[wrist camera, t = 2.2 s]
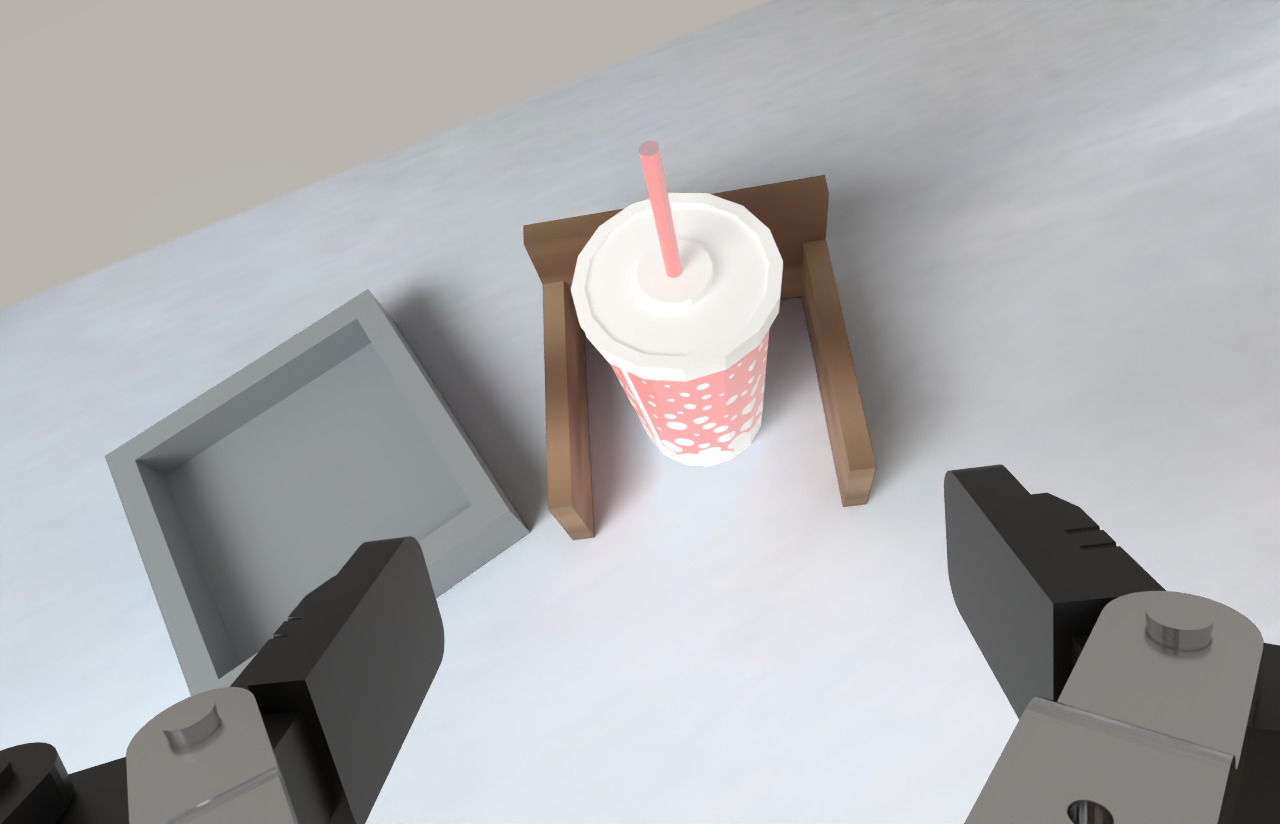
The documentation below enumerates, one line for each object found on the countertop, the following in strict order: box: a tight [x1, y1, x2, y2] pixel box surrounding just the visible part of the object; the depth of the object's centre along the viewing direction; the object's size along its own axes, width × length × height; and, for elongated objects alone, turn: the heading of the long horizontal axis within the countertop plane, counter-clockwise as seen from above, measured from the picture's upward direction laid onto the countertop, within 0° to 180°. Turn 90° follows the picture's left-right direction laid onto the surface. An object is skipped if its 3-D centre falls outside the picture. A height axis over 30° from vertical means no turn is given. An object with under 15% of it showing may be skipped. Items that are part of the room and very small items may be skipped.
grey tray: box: [105, 289, 530, 696], centre depth 31 cm, size 12×12×2 cm
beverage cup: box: [571, 141, 783, 466], centre depth 25 cm, size 6×6×14 cm
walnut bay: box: [523, 175, 876, 540], centre depth 28 cm, size 10×11×6 cm
